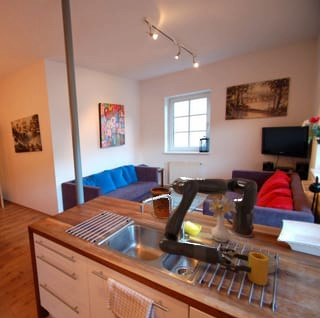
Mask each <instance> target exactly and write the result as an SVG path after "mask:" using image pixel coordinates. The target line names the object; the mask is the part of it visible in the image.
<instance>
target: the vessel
mask: <svg viewBox="0 0 320 318" xmlns="http://www.w3.org/2000/svg"><path fill="white" fill-rule="evenodd" d="M150 194H151V196H152V198H153V197H156V196H159V195H162V194H169V195H170V196H171V195H172V190H171V189H169V188H167V187H160V186H159V187H153V188H151V189H150ZM169 207H170V203H169V200H168V198H160V199H157V200H153V199H152V208H153V209H152V210H153V211H152V216H153V217H155V218H160V219H168V217H169V215H170V214H171V213H170V209H169Z"/></svg>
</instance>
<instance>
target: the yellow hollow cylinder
mask: <svg viewBox="0 0 320 318" xmlns="http://www.w3.org/2000/svg"><path fill="white" fill-rule="evenodd" d="M268 264H269V258H268V257H267V256H266V255H264V254H262V253H259V252H250V253H249V265H248V267H251V269H252V272H251V273H248V272H247V279H248V280H249V281H250V282H251V283H253V284H255V285H259V286H267V284H268V280H269V279H268V277H269V273H268Z"/></svg>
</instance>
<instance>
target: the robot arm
mask: <svg viewBox="0 0 320 318" xmlns="http://www.w3.org/2000/svg"><path fill="white" fill-rule="evenodd" d="M171 185H172V186H171V188H172V190H173V192H175V193H176V194H177V195H179V196H181V200H180V201H179V203H178V205H177V206H176V207H175V208H174V209H173V210H172V211H171V212H170V213H169V214H170V215H169V217H168V218H167V220H166V223H165V227H164V233H163V236H162V239H160V240H159V242H158V248H159V250H160V251H162V253H165V254H168V255H173V256H180V257H184V258H189V259H191V260H195V261H198V262H202V263H206V264H208V265H209V264H210V265H213V266H217V265H218V264H219V265H220V269H221V270H223V271H226V272H230V273H234V274H239V272H240V271H241V272H243V273H244V272H245V273H247V274H248V273H251V272H252V269H251V267H248V266H246V265H245V264H240V263H238V262H235V259H237V260H241V261H242V260H245V261H248V256H247V255H242V253H238V252H236V250H235V249H233V248H227V247H223V246H222V247H221V246H219V249H218V248H217V247H216V246H210V245H205V244H202V243H194V242H188V241H179V240H178V238H179V234H180V232H181V230H182V227H183V223H184V220H185V218H186V215H187V213H188V212H189V210H190V208H191V206H192V205H193V202H194V201H195V199H196V197H197V195H198V194H201V195H207V196H222V195H225V194H227V192H228V193H235V194H238V195H242V198H236V199H234V203H235V204H236V205H235V207H234V208H235V209H236V212H235V213H234V212H233V215H232V221H231V220H230V219H229V217H228V216H227V215H224V218H226V220H227V222H229V223H230V224H231V226H232V228H231V229H232V233H233V234H235V235H237V236H240V237H245V238H251V237H253V236H254V230H255V229H254V228H255V226H254V217H255V204H256V201H257V195H258V183H257V182H256V181H254V180H251V179H246V178H242V177H238V178H237V177H235V178H229V179H226V178H213V177H212V178H196V179H195V178H188V177H187V178H186V177H178V178H176V179H174V180H173V182H172V184H171ZM234 203H233V204H234Z"/></svg>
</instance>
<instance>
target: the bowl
mask: <svg viewBox="0 0 320 318" xmlns="http://www.w3.org/2000/svg"><path fill="white" fill-rule="evenodd" d="M250 252H259V253H262V254H264V255H266V256H267V257H268V258H269V264H268V274H273V273H275V272H276V271H277V268H278V261H277V259H276V258H275V257H274V256H273V255H271V254H269V253H266V252H264V251H262V250H257V249H251V248H249V249H243V250H242V251H241V254H242V255H247V256H248V261H245V260H241V262H242V263H243V265H244V266H248V265H249V253H250Z"/></svg>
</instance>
